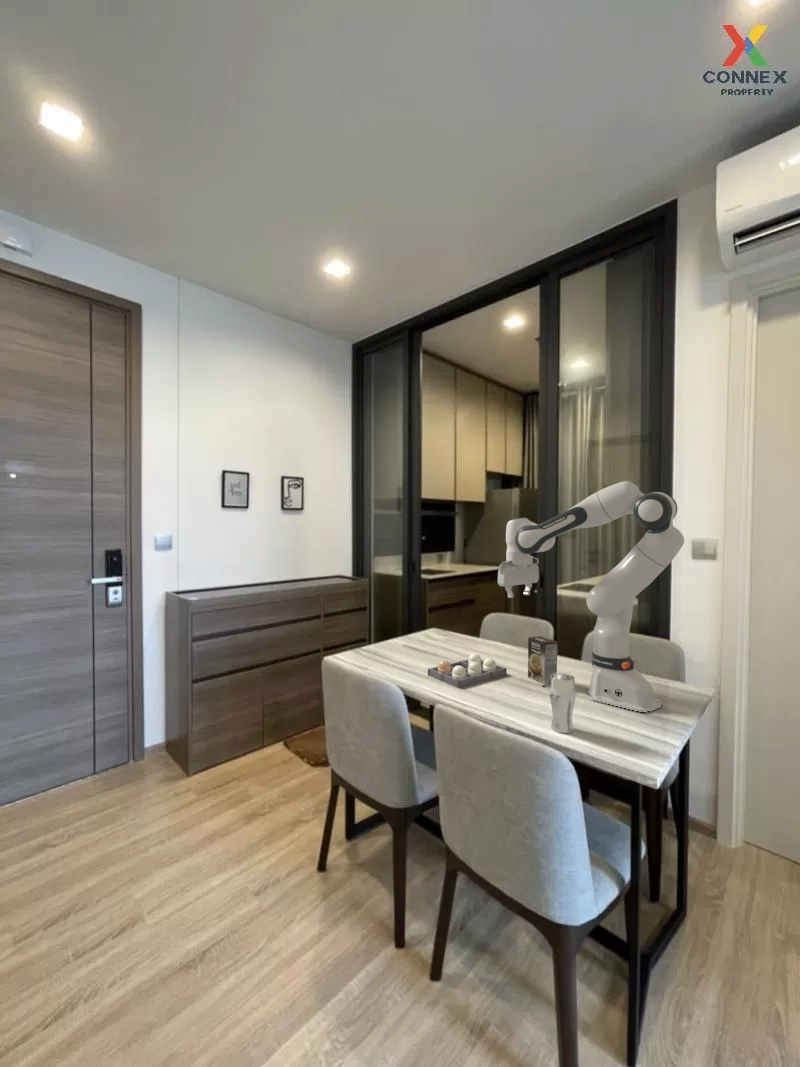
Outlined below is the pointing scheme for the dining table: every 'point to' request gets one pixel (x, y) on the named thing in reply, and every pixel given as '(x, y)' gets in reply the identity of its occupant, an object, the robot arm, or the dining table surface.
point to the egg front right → (489, 664)
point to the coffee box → (542, 659)
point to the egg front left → (459, 672)
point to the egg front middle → (474, 668)
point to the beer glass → (562, 701)
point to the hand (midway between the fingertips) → (518, 596)
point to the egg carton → (469, 678)
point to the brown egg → (444, 667)
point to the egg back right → (474, 658)
